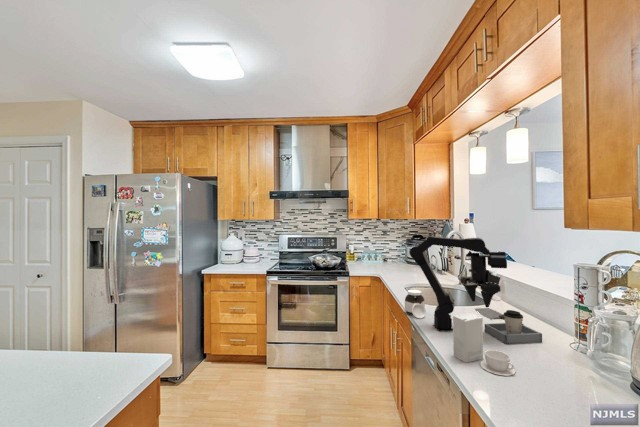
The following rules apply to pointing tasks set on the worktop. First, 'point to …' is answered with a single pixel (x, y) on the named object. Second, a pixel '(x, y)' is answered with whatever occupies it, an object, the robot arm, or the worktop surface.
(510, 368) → the teacup
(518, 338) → the tray
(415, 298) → the spread jar
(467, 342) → the skincare box
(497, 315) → the cleaver
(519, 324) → the coffee cup
